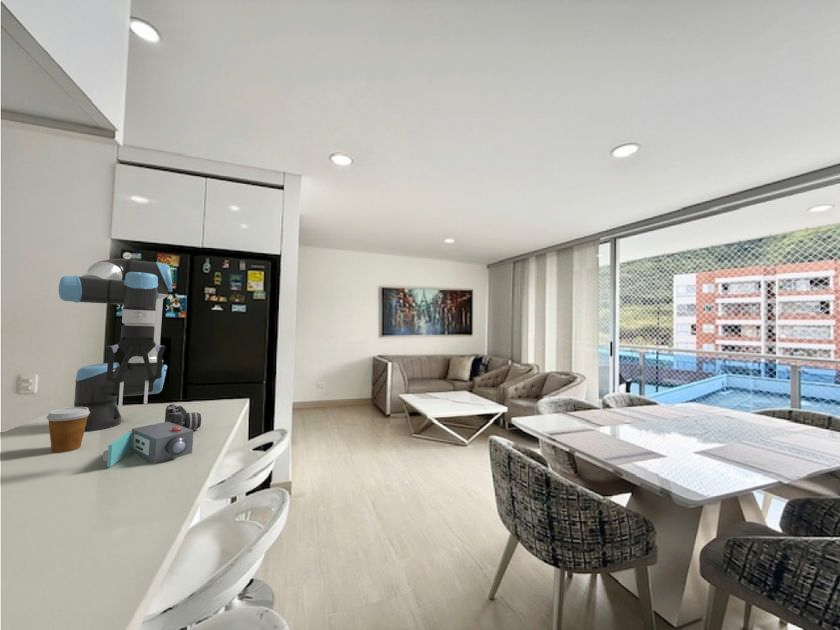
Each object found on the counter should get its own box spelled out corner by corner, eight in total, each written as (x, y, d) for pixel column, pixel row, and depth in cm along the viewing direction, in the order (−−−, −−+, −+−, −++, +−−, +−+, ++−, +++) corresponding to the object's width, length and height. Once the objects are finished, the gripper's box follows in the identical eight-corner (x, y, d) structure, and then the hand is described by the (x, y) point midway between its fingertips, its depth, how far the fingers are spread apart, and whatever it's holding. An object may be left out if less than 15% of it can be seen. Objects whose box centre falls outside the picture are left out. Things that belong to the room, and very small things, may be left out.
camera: (204, 435, 123) (206, 407, 123) (168, 441, 115) (170, 412, 115) (194, 425, 133) (196, 400, 133) (160, 431, 125) (162, 404, 125)
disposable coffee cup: (54, 456, 99) (58, 415, 99) (36, 451, 102) (39, 411, 102) (94, 446, 108) (97, 408, 108) (76, 441, 111) (79, 405, 111)
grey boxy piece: (129, 451, 105) (131, 426, 105) (166, 442, 114) (168, 419, 114) (158, 465, 96) (159, 438, 96) (196, 454, 105) (197, 429, 105)
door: (123, 450, 104) (125, 431, 104) (131, 450, 105) (132, 430, 105) (102, 467, 93) (103, 445, 93) (111, 466, 93) (112, 444, 93)
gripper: (95, 324, 91) (89, 411, 90) (177, 326, 102) (172, 403, 101) (97, 323, 96) (91, 405, 96) (174, 325, 108) (170, 398, 107)
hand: (133, 403), depth 98 cm, fingers open, 5 cm apart
